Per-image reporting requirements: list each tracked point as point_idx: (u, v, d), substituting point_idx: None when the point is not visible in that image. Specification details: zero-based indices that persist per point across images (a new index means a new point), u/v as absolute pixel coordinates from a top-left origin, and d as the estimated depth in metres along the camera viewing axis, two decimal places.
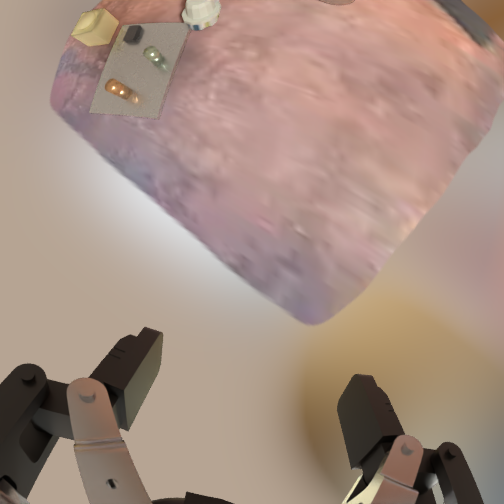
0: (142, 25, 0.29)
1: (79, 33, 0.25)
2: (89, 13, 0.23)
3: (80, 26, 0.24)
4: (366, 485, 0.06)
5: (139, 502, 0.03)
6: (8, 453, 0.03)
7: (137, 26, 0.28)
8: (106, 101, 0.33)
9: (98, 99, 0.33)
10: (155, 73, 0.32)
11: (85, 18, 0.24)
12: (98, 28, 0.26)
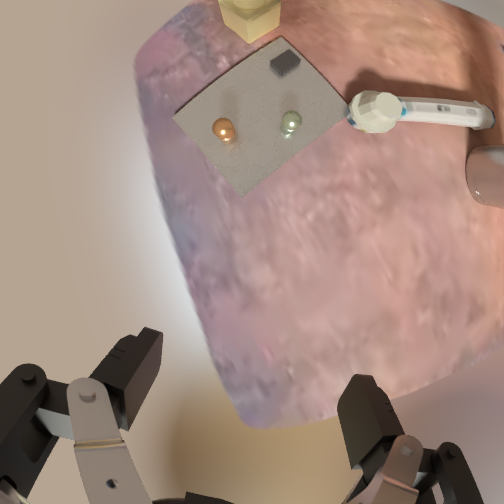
0: (302, 60, 0.26)
1: (229, 7, 0.20)
2: None
3: (237, 0, 0.20)
4: (366, 485, 0.06)
5: (139, 502, 0.03)
6: (8, 453, 0.03)
7: (297, 60, 0.25)
8: (200, 122, 0.29)
9: (192, 111, 0.28)
10: (275, 140, 0.29)
11: None
12: (255, 21, 0.22)
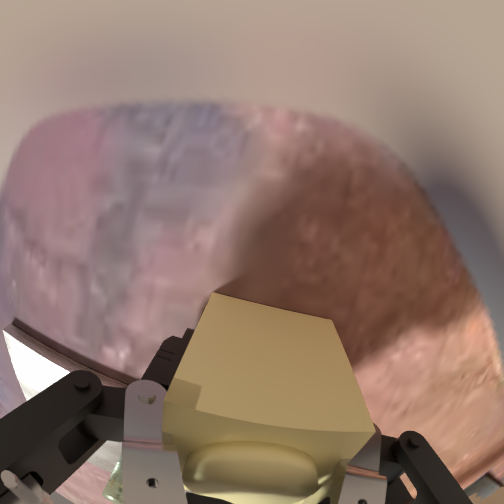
0: None
1: None
2: (297, 496, 0.05)
3: (203, 476, 0.05)
4: None
5: None
6: (43, 453, 0.03)
7: None
8: (30, 376, 0.12)
9: (26, 357, 0.12)
10: (102, 459, 0.14)
11: (265, 489, 0.05)
12: None
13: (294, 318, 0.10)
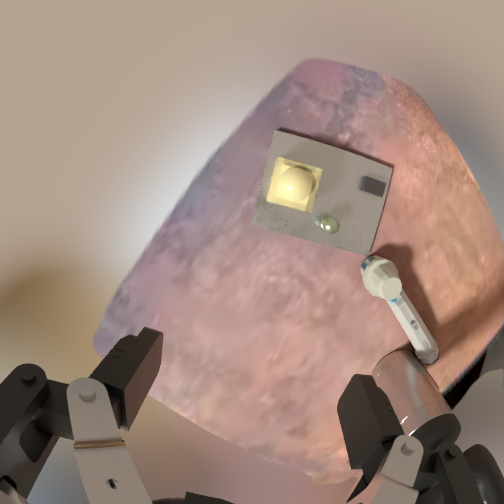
0: (383, 196, 0.34)
1: (274, 174, 0.28)
2: (307, 190, 0.28)
3: (284, 178, 0.28)
4: (366, 485, 0.06)
5: (139, 502, 0.03)
6: (8, 453, 0.03)
7: (380, 195, 0.33)
8: (285, 156, 0.33)
9: (289, 143, 0.33)
10: (308, 220, 0.35)
11: (299, 184, 0.28)
12: None
13: None
